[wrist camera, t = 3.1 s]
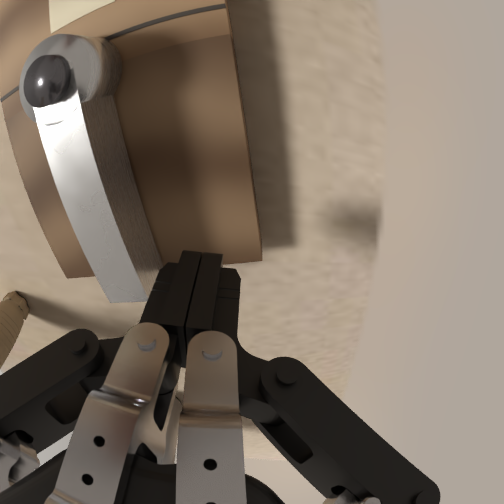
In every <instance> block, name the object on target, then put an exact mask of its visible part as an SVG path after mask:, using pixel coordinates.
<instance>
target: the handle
mask: <svg viewBox="0 0 504 504" xmlns="http://www.w3.org/2000/svg"><path fill="white" fill-rule="evenodd" d="M28 313H29V308H28V307H27V302H26V300H25V299H24V298H22V297H20V296H19V295H18V294H17V293H16V292H14V291H13V292H12V293H8V294H7V295H6V296H5V297H4V298H3V301H1V302H0V368H1V367H2V365H3V363H4V362H5V360H6V358H7V357H8V355H9V353H10V351H11V349H12V348H13V346H14V343H15V342H16V339H17V337H18V335H19V333H20V331H21V328H22V326H23V323H24V320H23V319H25V320H26V318H27V316H28Z"/></svg>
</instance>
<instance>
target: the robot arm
mask: <svg viewBox="0 0 504 504" xmlns="http://www.w3.org/2000/svg"><path fill="white" fill-rule="evenodd" d="M222 267H223V254H220V253H209V252H204V253H203V252H198V251H188V250H183V251H182V254H181V257H180V259H179V262H178V263H173V262H168V263H167V264H166V265H164V266H163V267H162V268H161V269H160V270H159V272H158V275H157V277H156V280H155V283H154V285H153V287H152V291H151V293H150V295H149V298H148V301H147V303H146V306H145V309H144V311H143V314H142V317H141V320H140V322H139V324H137V325H135V326H133V327H132V328H131V329H129V330H128V332H127V333H126V335H125V336H123V337H120V338H114V339H104V340H98V338H97V336H96V335H95V334H94V333H93V332H92V331H90V330H87V329H76V330H73V331H71V332H69V333H67V334H66V335H64V336H62V337H61V338H59V339H57V340H56V341H54V342H53V343H51V344H49V345H48V346H46V347H45V348H43V349H41V350H40V351H38V352H36V353H35V354H33V355H32V356H30V357H28V358H27V359H25V360H24V361H22V362H21V363H19V364H17V365H16V366H14V367H13V368H11V369H10V370H8V371H6V372H5V373H3V374H2V375H0V504H285V503H284V502H283V501H282V500H281V499H280V498H279V497H278V496H277V495H276V494H275V493H274V491H272V490H271V489H270V488H269V487H268V486H267V485H265V484H263V483H262V482H260V481H259V480H257V479H255V478H254V477H252V476H249V475H247V474H245V470H244V452H243V434H242V420H241V416H244V417H247V418H249V419H252V421H253V422H254V424H255V425H256V426H257V427H258V428H259V430H260V431H261V432H262V433H263V434H264V435H265V436H266V437H267V439H268V440H269V441H270V442H271V443H272V444H273V445H274V446H275V447H276V448H277V450H278V451H279V452H280V453H281V454H282V455H283V456H284V457H285V458H286V459H287V460H288V461H289V462H290V463H291V464H292V465H293V466H294V467H295V468H296V469H297V470H298V471H299V472H300V473H301V474H302V475H303V476H304V477H305V478H306V479H307V480H308V481H309V482H310V483H311V484H312V485H313V486H314V487H315V488H316V489H317V490H318V491H319V492H320V493H321V494H323V496H325V497H326V498H327V499H326V500H325V501H324V502H323V504H439V502H440V491H439V488H438V486H437V485H436V484H435V483H434V482H433V481H432V480H431V479H429V478H428V477H427V476H426V475H425V474H423V473H422V472H421V471H419V469H417V468H416V467H415V466H414V465H413V464H411V463H410V462H409V461H408V460H407V459H406V458H404V457H403V456H402V455H401V454H400V453H399V452H398V451H396V450H395V449H394V448H393V447H392V446H391V445H389V444H388V443H387V442H386V441H385V440H384V439H383V438H382V437H380V436H379V435H378V434H377V433H376V432H375V431H374V430H373V429H372V428H370V427H369V426H368V425H367V424H366V423H365V422H364V421H363V420H362V419H360V418H359V417H358V416H357V415H356V414H355V413H354V412H353V411H352V410H351V409H350V408H349V407H348V406H347V405H346V404H344V403H343V402H342V401H341V400H340V399H339V398H338V397H337V396H336V395H335V394H334V393H333V392H332V391H331V390H330V389H329V388H328V387H327V386H325V385H324V384H323V383H322V382H321V381H320V380H319V379H318V378H317V377H316V376H315V375H314V374H313V373H312V372H311V371H310V370H309V369H308V368H307V367H306V366H305V365H304V364H303V363H301V362H300V361H298V360H296V359H294V358H290V357H277V358H274V359H272V360H270V361H266V360H263V359H260V358H258V357H255V356H253V355H251V354H249V353H248V352H246V351H245V350H244V349H243V348H242V347H241V345H240V343H239V341H238V337H237V329H238V313H239V298H240V283H241V278H240V276H239V274H238V272H237V270H236V269H232V268H222ZM181 367H183V368H186V372H185V384H184V397H183V408H182V404H181V403H180V401H179V400H178V399H177V398H175V396H176V393H177V389H178V379H179V373H180V368H181ZM181 410H182V411H181ZM73 430H74V431H73ZM72 431H73V434H72V437H71V439H70V442H69V445H68V448H67V449H66V450H63V451H62V452H60V453H59V454H57V455H56V456H54V457H53V458H52V459H50V460H49V461H48V462H46V463H44V464H43V465H42V466H40V467H39V465H40V462H39V459H38V458H37V454H38V453H39V452H41V451H42V450H44V449H46V448H47V447H49V446H50V445H52V444H53V443H55V442H56V441H58V440H59V439H61V438H63V437H64V436H66V435H67V434H68V433H70V432H72ZM177 438H178V444H177ZM176 445H177V464H174V461H175V453H176ZM34 469H36V470H34Z"/></svg>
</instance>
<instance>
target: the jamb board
mask: <svg viewBox="0 0 504 504" xmlns="http://www.w3.org/2000/svg"><path fill="white" fill-rule="evenodd" d="M56 34H74V35H84V36H93V37H100V38H104V39H107V40H109V41H110V42H112V43H113V44H114V45H115V46H116V48H117V49H118V51H119V53H120V56H121V60H122V75H121V79H120V83H119V85H118V88H117V90H116V92H115V93H114V100H115V104H116V109H117V114H118V118H119V122H120V126H121V131H122V135H123V139H124V143H125V146H126V150H127V154H128V158H129V161H130V165H131V169H132V172H133V176H134V179H135V182H136V186H137V189H138V192H139V196H140V199H141V202H142V205H143V208H144V212H145V215H146V218H147V221H148V224H149V227H150V230H151V233H152V236H153V238H154V241H155V244H156V247H157V250H158V253H159V255H160V258H161V261H162V263H163V266H164V265H166V264H167V263H168V262H173V263H178V262H179V259H180V257H181V254H182V251H183V250H188V251H198V252H203V253H204V252H209V253H220V254H223V265H224V264H234V263H245V262H255V261H262V242H261V234H260V226H259V219H258V211H257V204H256V196H255V189H254V181H253V174H252V167H251V159H250V152H249V145H248V138H247V131H246V124H245V117H244V110H243V103H242V96H241V89H240V82H239V75H238V69H237V62H236V55H235V49H234V42H233V35H232V29H231V23H230V16H229V10H228V3H227V0H0V96H1V99H0V100H1V102H2V107H3V112H4V117H5V122H6V126H7V130H8V134H9V138H10V142H11V145H12V149H13V152H14V156H15V159H16V162H17V166H18V169H19V172H20V175H21V178H22V180H23V183H24V186H25V189H26V191H27V194H28V197H29V199H30V202H31V204H32V207H33V209H34V212H35V214H36V216H37V219H38V221H39V223H40V226H41V228H42V230H43V232H44V234H45V237H46V239H47V241H48V243H49V245H50V247H51V249H52V251H53V253H54V255H55V257H56V259H57V261H58V263H59V265H60V267H61V268H62V270H63V272H64V274H65V276H66V277H67V278H79V277H91V276H95V274H94V272H93V270H92V268H91V266H90V264H89V262H88V260H87V258H86V256H85V254H84V252H83V250H82V248H81V245H80V243H79V241H78V239H77V237H76V234H75V232H74V230H73V227H72V225H71V223H70V220H69V218H68V216H67V213H66V211H65V208H64V206H63V203H62V200H61V198H60V195H59V192H58V190H57V187H56V184H55V181H54V178H53V175H52V172H51V169H50V166H49V163H48V160H47V157H46V153H45V150H44V147H43V143H42V139H41V136H40V132H39V128H38V124H37V123H35V122H34V121H32V120H31V119H30V118H29V117H28V116H27V114H26V113H25V111H24V109H23V107H22V104H21V100H20V94H19V83H20V76H21V73H22V69H23V66H24V64H25V62H26V60H27V58H28V56H29V55H30V53H31V52H32V51H33V49H34V48H35V47H36V46H37V45H38V44H39V43H40V42H42V41H43V40H45V39H46V38H48V37H50V36H53V35H56Z"/></svg>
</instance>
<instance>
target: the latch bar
mask: <svg viewBox="0 0 504 504" xmlns="http://www.w3.org/2000/svg"><path fill="white" fill-rule="evenodd" d="M121 75H122V60H121V56H120V53H119V51H118V49H117V48H116V46H115V45H114V44H113V43H112V42H110V41H109V40H107V39H104V38H100V37H93V36H84V35H74V34H56V35H53V36H50V37H48V38H46V39H45V40H43V41H42V42H40V43H39V44H38V45H37V46H36V47H35V48H34V49H33V51H32V52H31V53H30V55H29V56H28V58H27V60H26V62H25V64H24V66H23V69H22V73H21V76H20V83H19V94H20V100H21V104H22V107H23V109H24V111H25V113H26V114H27V116H28V117H29V118H30V119H31V120H32V121H34V122H35V123H37V124H38V128H39V132H40V136H41V139H42V143H43V147H44V150H45V153H46V157H47V160H48V163H49V166H50V169H51V172H52V175H53V178H54V181H55V184H56V187H57V190H58V192H59V195H60V198H61V200H62V203H63V206H64V208H65V211H66V213H67V216H68V218H69V220H70V223H71V225H72V227H73V230H74V232H75V234H76V237H77V239H78V241H79V243H80V245H81V248H82V250H83V252H84V254H85V256H86V258H87V260H88V262H89V264H90V266H91V268H92V270H93V272H94V274H95V276H96V278H97V280H98V282H99V284H100V285H101V287H102V289H103V291H104V293H105V295H106V296H107V298H108V300H109V302H110V303H119V302H144V301H148V298H149V295H150V293H151V291H152V287H153V285H154V283H155V280H156V277H157V275H158V272H159V270H160V269H161V268H162V267H163V263H162V261H161V258H160V255H159V253H158V250H157V247H156V244H155V241H154V238H153V236H152V233H151V230H150V227H149V224H148V221H147V218H146V215H145V212H144V208H143V205H142V202H141V199H140V196H139V192H138V189H137V186H136V182H135V179H134V176H133V172H132V169H131V165H130V161H129V158H128V154H127V150H126V146H125V143H124V139H123V135H122V131H121V126H120V122H119V118H118V114H117V109H116V104H115V100H114V93H115V92H116V90H117V88H118V85H119V83H120V79H121Z"/></svg>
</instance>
